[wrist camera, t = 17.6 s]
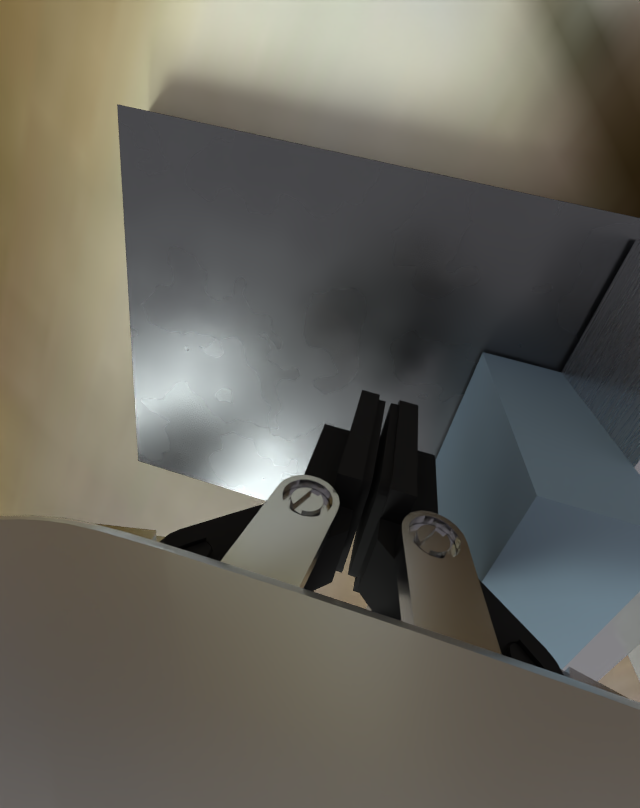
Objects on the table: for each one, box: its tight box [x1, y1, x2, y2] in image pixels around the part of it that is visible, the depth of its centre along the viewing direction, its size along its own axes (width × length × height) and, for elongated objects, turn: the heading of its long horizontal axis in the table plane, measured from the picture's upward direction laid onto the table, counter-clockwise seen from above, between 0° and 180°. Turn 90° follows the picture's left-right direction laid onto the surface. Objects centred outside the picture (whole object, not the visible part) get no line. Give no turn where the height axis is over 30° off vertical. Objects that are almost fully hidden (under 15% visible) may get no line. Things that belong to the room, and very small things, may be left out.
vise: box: [117, 104, 640, 501], centre depth 13 cm, size 28×14×6 cm, turn 79°
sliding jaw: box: [436, 240, 640, 682], centre depth 11 cm, size 6×13×7 cm, turn 169°
